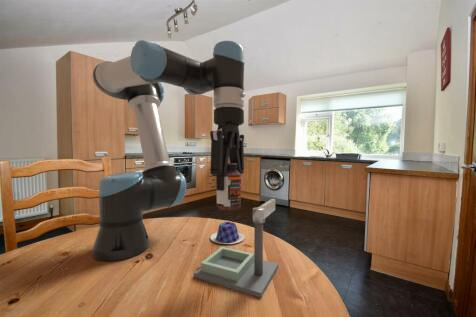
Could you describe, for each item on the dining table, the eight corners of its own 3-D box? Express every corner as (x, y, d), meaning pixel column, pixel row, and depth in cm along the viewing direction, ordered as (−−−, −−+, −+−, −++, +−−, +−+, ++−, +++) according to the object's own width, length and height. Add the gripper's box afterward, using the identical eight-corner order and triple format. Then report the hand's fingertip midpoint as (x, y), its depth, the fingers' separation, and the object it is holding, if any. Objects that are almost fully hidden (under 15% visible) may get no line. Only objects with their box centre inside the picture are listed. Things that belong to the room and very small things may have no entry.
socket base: (193, 277, 52) (193, 222, 51) (221, 254, 63) (221, 209, 63) (261, 297, 44) (261, 234, 44) (278, 267, 56) (278, 217, 56)
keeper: (262, 224, 49) (262, 210, 49) (250, 222, 50) (250, 209, 50) (278, 210, 61) (278, 199, 61) (268, 208, 62) (268, 198, 62)
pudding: (219, 230, 83) (219, 217, 83) (249, 235, 79) (249, 221, 79) (203, 243, 72) (203, 227, 72) (237, 248, 68) (237, 232, 67)
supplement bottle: (232, 212, 50) (232, 164, 50) (212, 209, 53) (212, 163, 53) (245, 207, 55) (245, 163, 55) (226, 204, 58) (226, 162, 58)
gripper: (223, 98, 44) (223, 211, 44) (256, 113, 61) (256, 195, 61) (193, 102, 47) (193, 207, 47) (232, 115, 64) (232, 193, 64)
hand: (228, 200), depth 54 cm, fingers closed on supplement bottle, 6 cm apart
